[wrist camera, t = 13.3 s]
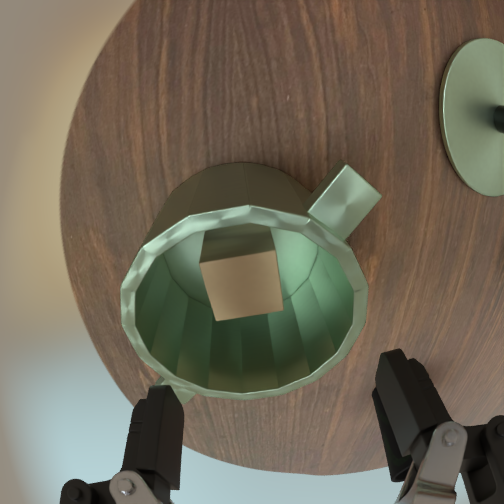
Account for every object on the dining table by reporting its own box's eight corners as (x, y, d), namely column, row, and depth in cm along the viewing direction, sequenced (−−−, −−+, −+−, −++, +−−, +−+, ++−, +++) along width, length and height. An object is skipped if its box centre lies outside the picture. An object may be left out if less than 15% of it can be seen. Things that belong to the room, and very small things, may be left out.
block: (218, 283, 23) (215, 321, 19) (204, 230, 21) (198, 263, 17) (276, 273, 23) (284, 311, 19) (267, 219, 21) (276, 250, 17)
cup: (379, 410, 36) (405, 483, 25) (353, 394, 33) (380, 481, 22) (426, 379, 33) (461, 451, 23) (406, 358, 30) (448, 443, 20)
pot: (116, 290, 24) (81, 367, 16) (241, 91, 17) (247, 86, 10) (241, 353, 28) (245, 432, 20) (381, 201, 21) (444, 258, 14)
